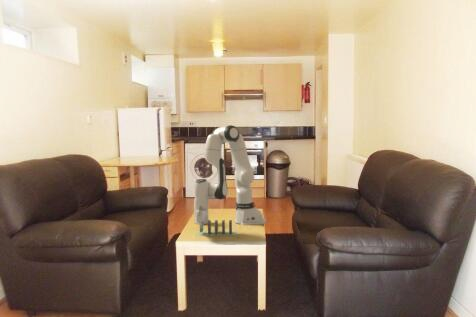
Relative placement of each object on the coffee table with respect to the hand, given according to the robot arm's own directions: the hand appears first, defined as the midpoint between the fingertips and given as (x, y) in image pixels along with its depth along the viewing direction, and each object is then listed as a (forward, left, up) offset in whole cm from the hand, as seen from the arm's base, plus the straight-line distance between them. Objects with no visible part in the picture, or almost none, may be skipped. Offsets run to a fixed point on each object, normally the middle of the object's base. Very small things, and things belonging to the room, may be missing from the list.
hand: (201, 226), depth 219 cm
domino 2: (-5, 0, -5) cm, 7 cm away
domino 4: (-14, 0, -5) cm, 15 cm away
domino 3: (-9, 0, -5) cm, 11 cm away
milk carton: (+3, -24, -6) cm, 25 cm away
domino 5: (-18, 0, -5) cm, 19 cm away
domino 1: (0, 0, -3) cm, 3 cm away
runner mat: (-9, 0, -5) cm, 11 cm away
